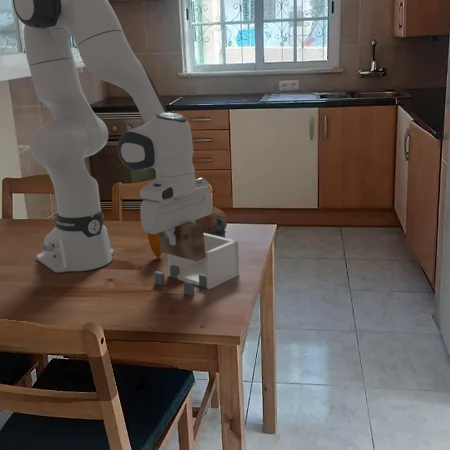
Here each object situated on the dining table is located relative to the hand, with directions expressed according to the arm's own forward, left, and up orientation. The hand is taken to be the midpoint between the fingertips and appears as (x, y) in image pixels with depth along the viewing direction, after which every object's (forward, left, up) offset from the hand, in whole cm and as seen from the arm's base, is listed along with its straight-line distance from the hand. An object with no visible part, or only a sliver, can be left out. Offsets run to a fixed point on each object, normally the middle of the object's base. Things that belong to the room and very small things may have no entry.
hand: (181, 241), depth 138 cm
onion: (-19, +31, -11) cm, 39 cm away
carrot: (-19, +9, -11) cm, 24 cm away
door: (0, 0, -3) cm, 3 cm away
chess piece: (-5, +19, -11) cm, 23 cm away
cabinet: (0, +5, -11) cm, 12 cm away
